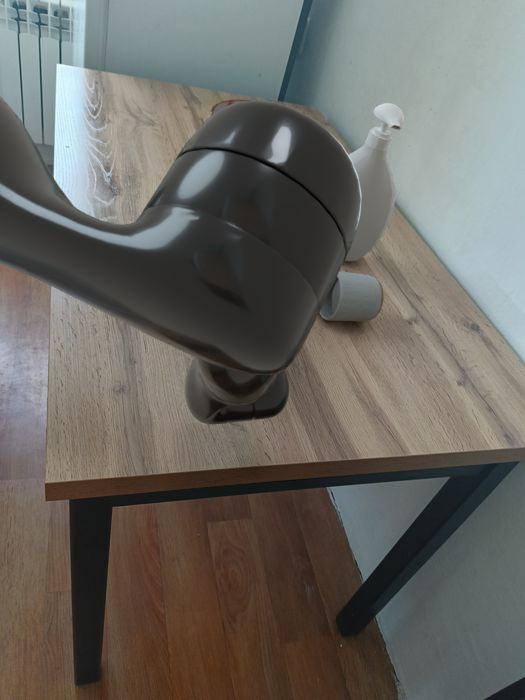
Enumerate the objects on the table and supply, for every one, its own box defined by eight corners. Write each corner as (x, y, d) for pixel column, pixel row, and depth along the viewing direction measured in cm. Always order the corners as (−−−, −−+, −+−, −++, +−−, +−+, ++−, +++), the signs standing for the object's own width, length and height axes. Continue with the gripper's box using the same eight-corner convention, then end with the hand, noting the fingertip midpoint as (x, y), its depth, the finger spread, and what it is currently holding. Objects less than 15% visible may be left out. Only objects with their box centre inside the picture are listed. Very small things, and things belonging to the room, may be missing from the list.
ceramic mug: (374, 331, 84) (394, 292, 79) (327, 331, 81) (344, 291, 76) (349, 288, 91) (366, 251, 86) (305, 287, 88) (320, 248, 83)
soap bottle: (296, 263, 93) (352, 105, 74) (292, 236, 98) (343, 84, 80) (374, 277, 96) (447, 129, 77) (366, 251, 101) (431, 107, 83)
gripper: (285, 270, 66) (265, 199, 78) (168, 256, 62) (165, 184, 74) (270, 315, 71) (253, 242, 83) (160, 305, 67) (159, 230, 79)
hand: (212, 215), depth 79 cm, fingers closed on container, 4 cm apart
